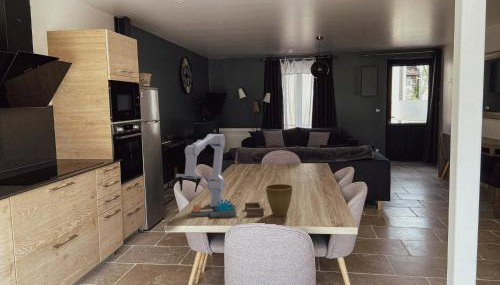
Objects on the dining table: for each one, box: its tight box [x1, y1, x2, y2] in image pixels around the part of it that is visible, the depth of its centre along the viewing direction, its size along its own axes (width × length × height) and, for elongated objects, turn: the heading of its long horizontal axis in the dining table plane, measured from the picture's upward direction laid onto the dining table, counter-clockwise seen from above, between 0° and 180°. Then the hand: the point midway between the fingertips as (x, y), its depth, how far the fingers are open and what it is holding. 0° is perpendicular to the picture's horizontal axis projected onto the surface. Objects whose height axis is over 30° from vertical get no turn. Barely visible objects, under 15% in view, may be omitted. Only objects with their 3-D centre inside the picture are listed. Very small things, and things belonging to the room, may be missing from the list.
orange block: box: [192, 204, 214, 213], centre depth 213 cm, size 4×11×5 cm, turn 95°
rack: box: [244, 201, 265, 217], centre depth 215 cm, size 14×10×4 cm
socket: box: [190, 204, 237, 219], centre depth 213 cm, size 14×25×3 cm, turn 95°
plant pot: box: [265, 183, 293, 217], centre depth 209 cm, size 15×15×16 cm
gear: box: [215, 198, 236, 212], centre depth 215 cm, size 11×6×10 cm
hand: (188, 191), depth 206 cm, fingers open, 7 cm apart
